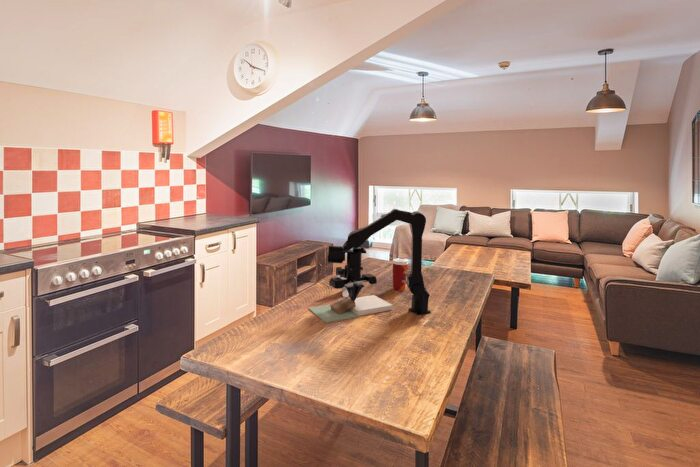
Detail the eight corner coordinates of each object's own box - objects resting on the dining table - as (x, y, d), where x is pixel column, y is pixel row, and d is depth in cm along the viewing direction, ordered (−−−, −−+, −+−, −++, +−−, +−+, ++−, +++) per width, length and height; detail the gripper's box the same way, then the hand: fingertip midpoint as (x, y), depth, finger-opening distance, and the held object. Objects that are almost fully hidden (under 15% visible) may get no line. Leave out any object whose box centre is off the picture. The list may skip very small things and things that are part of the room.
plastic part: (359, 292, 187) (360, 267, 185) (347, 297, 179) (348, 271, 177) (346, 289, 191) (346, 265, 189) (333, 294, 183) (334, 269, 181)
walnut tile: (348, 302, 166) (347, 297, 165) (355, 306, 161) (354, 301, 160) (331, 309, 162) (330, 304, 162) (338, 314, 157) (337, 309, 157)
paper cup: (408, 291, 189) (409, 262, 187) (391, 291, 189) (392, 261, 187) (406, 286, 197) (407, 258, 194) (390, 286, 197) (391, 257, 194)
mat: (359, 316, 156) (359, 315, 156) (325, 322, 150) (325, 321, 150) (339, 304, 170) (339, 303, 170) (308, 308, 163) (308, 308, 163)
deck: (392, 309, 165) (392, 305, 164) (357, 316, 157) (357, 311, 157) (373, 299, 177) (373, 295, 177) (340, 304, 169) (340, 300, 169)
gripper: (364, 257, 172) (362, 293, 175) (323, 261, 164) (322, 298, 166) (378, 263, 163) (376, 301, 165) (336, 267, 154) (335, 307, 156)
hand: (352, 301), depth 164 cm, fingers closed
